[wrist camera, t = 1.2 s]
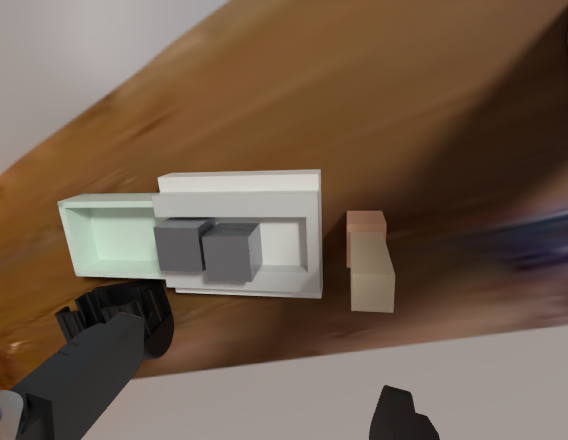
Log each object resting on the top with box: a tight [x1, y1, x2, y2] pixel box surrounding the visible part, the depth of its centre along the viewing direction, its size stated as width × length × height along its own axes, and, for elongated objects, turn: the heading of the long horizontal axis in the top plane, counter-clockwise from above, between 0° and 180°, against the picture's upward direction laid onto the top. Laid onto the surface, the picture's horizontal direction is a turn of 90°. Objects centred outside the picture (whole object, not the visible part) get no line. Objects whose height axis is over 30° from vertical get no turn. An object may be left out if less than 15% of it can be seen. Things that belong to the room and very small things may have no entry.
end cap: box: [55, 279, 174, 360], centre depth 37 cm, size 10×7×7 cm
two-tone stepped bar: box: [347, 211, 395, 313], centre depth 27 cm, size 3×4×12 cm
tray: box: [57, 193, 165, 279], centre depth 35 cm, size 10×8×4 cm
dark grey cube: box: [153, 217, 216, 272], centre depth 31 cm, size 4×4×4 cm
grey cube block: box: [202, 223, 263, 282], centre depth 31 cm, size 4×4×4 cm
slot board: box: [152, 169, 323, 298], centre depth 33 cm, size 15×12×4 cm
